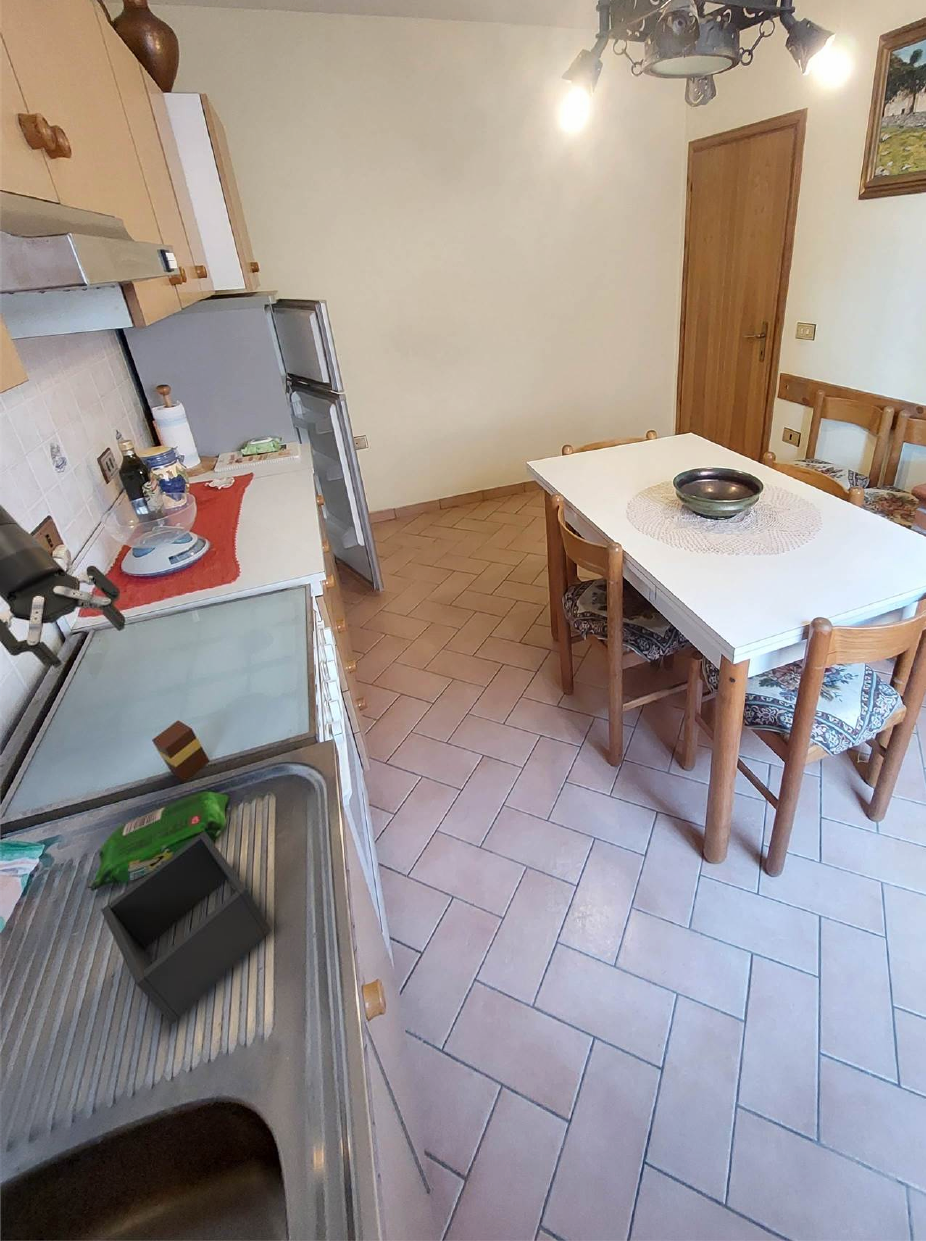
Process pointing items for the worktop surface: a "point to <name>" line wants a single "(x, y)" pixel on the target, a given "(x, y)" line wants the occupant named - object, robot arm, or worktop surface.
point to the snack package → (159, 837)
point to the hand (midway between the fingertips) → (91, 645)
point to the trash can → (200, 950)
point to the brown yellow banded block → (181, 750)
